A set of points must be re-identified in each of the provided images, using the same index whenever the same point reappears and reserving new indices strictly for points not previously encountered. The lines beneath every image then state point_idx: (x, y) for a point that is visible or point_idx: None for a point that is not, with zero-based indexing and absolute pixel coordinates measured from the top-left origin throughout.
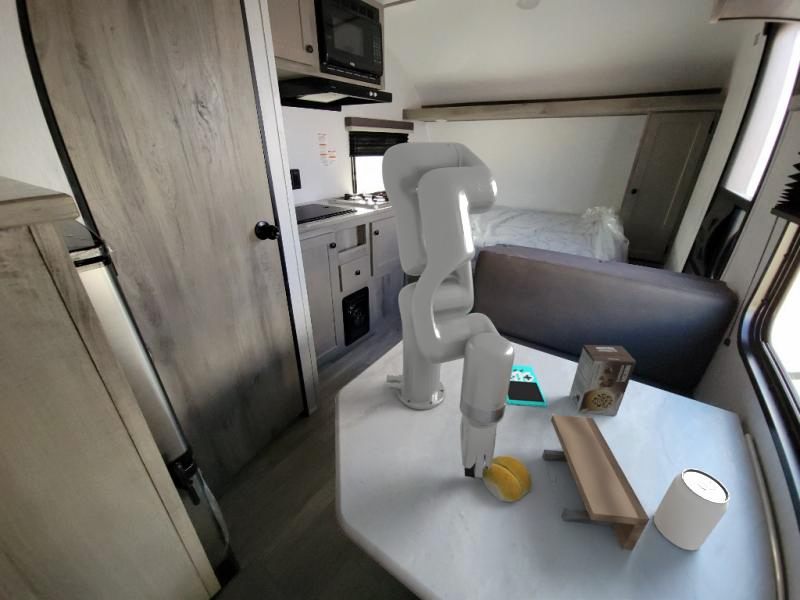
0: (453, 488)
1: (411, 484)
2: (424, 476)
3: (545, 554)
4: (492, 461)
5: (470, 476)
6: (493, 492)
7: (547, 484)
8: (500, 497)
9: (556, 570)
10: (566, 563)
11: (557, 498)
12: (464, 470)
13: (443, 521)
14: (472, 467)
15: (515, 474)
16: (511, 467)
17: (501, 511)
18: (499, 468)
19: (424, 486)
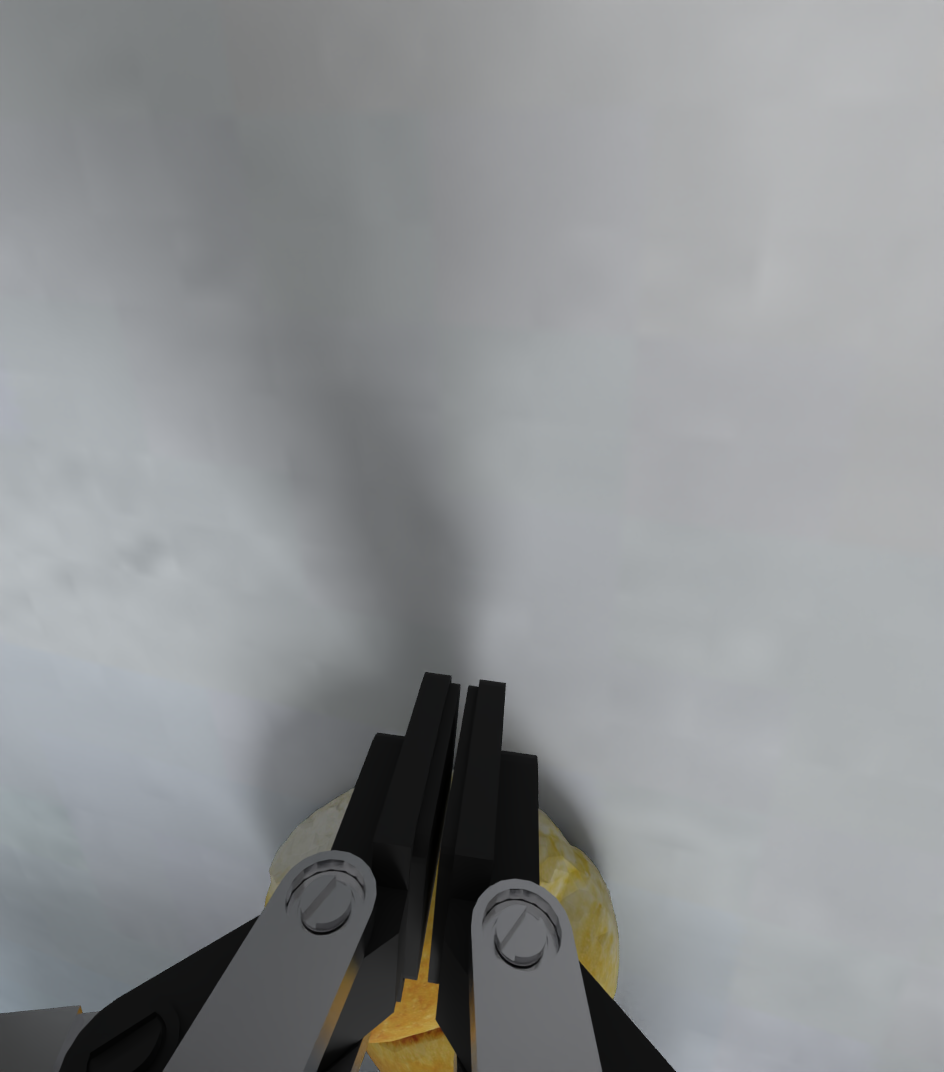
0: (361, 531)
1: (360, 44)
2: (472, 231)
3: (64, 920)
4: (569, 912)
5: (374, 739)
6: (327, 821)
7: None
8: (272, 863)
9: (11, 932)
10: (55, 974)
11: (362, 1064)
12: (480, 681)
13: (62, 407)
14: (99, 1021)
15: (401, 1053)
16: (453, 1064)
17: (236, 809)
18: (433, 1000)
19: (352, 228)
